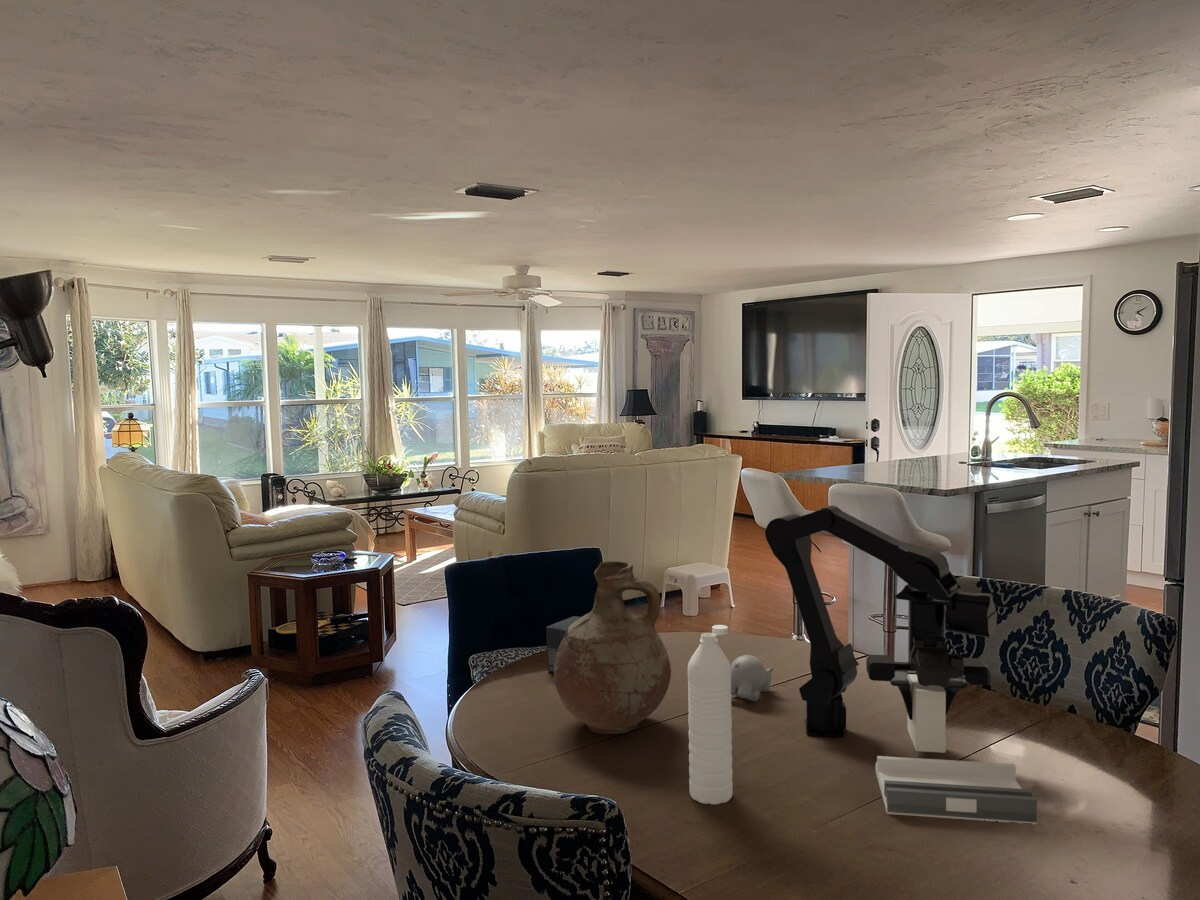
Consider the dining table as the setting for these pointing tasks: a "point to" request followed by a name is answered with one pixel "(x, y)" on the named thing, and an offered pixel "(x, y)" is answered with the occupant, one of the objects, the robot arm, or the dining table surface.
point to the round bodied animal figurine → (749, 677)
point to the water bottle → (710, 721)
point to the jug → (613, 657)
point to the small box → (556, 639)
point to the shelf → (954, 790)
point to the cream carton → (927, 716)
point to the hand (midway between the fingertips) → (926, 719)
